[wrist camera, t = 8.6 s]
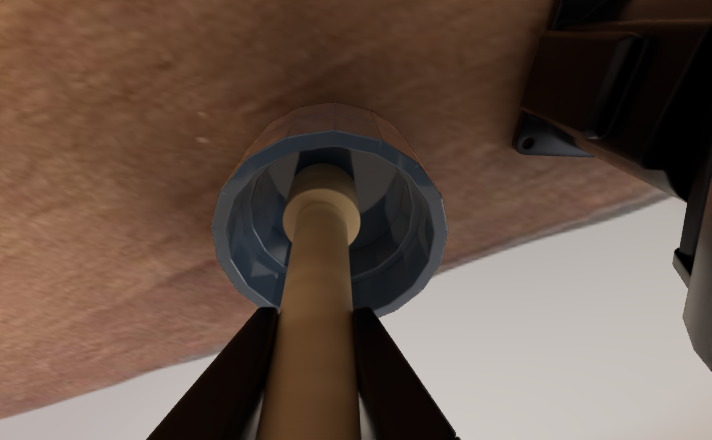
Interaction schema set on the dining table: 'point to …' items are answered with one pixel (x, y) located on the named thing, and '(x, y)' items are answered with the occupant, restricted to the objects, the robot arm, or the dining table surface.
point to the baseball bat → (315, 316)
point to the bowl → (375, 199)
